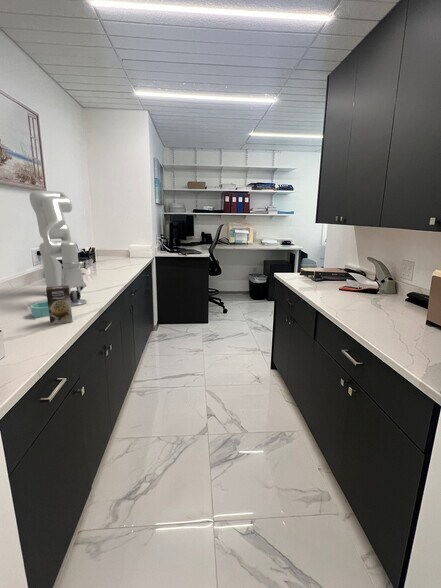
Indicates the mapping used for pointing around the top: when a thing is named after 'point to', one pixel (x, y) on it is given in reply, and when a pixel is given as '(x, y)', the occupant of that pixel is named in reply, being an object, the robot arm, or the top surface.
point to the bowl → (39, 309)
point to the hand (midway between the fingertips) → (74, 299)
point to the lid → (76, 299)
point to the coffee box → (59, 304)
